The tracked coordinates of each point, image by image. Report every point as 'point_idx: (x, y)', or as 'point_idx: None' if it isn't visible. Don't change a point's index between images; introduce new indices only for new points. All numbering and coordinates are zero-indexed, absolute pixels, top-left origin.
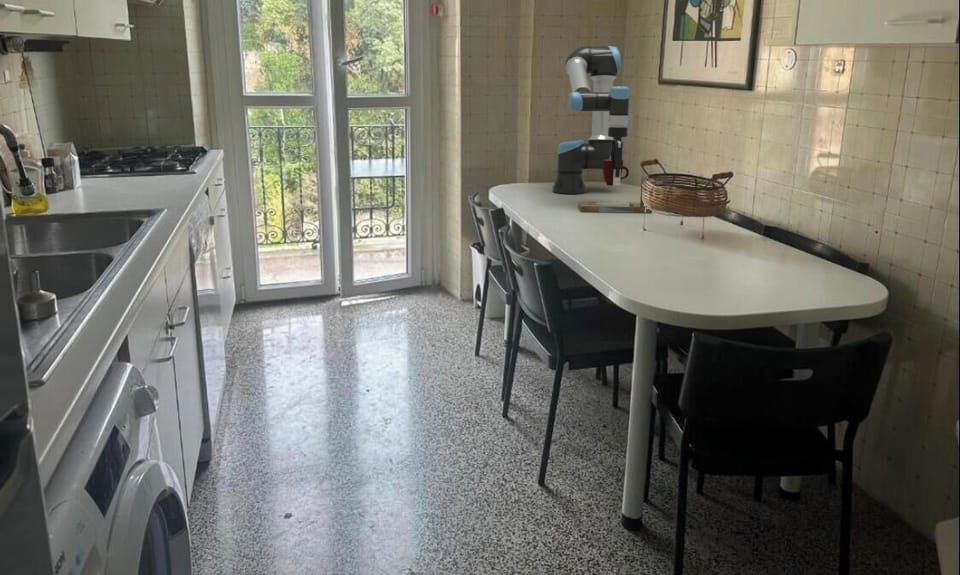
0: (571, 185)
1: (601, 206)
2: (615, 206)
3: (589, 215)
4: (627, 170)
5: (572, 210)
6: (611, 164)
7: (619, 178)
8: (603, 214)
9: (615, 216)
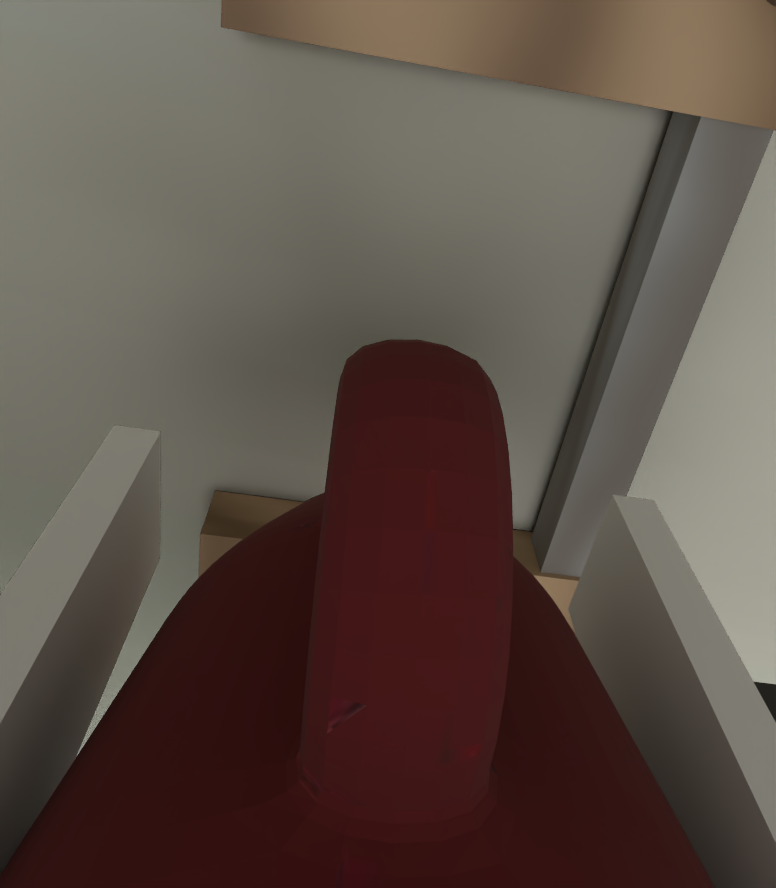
0: None
1: (574, 549)
2: (613, 394)
3: (751, 653)
4: (507, 502)
5: None
6: None
7: (705, 634)
8: (734, 529)
9: None
